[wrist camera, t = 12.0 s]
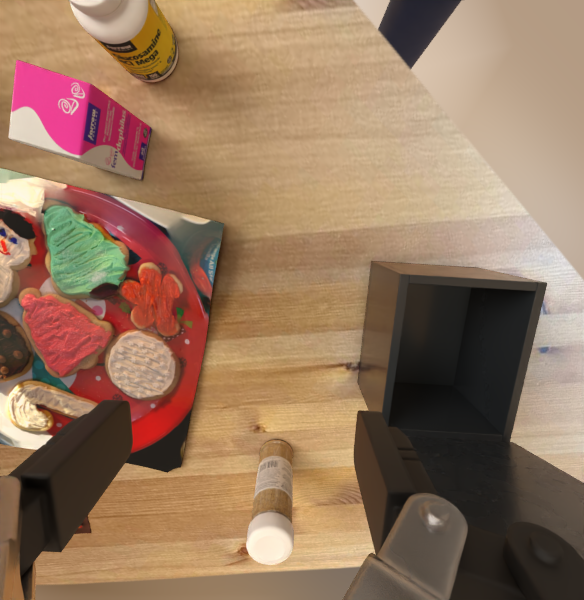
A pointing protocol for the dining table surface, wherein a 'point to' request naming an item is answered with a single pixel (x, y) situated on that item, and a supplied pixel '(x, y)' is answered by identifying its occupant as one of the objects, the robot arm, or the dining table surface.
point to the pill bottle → (131, 34)
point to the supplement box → (76, 122)
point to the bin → (447, 348)
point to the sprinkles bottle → (272, 506)
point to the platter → (100, 313)
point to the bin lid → (504, 486)
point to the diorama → (84, 527)
